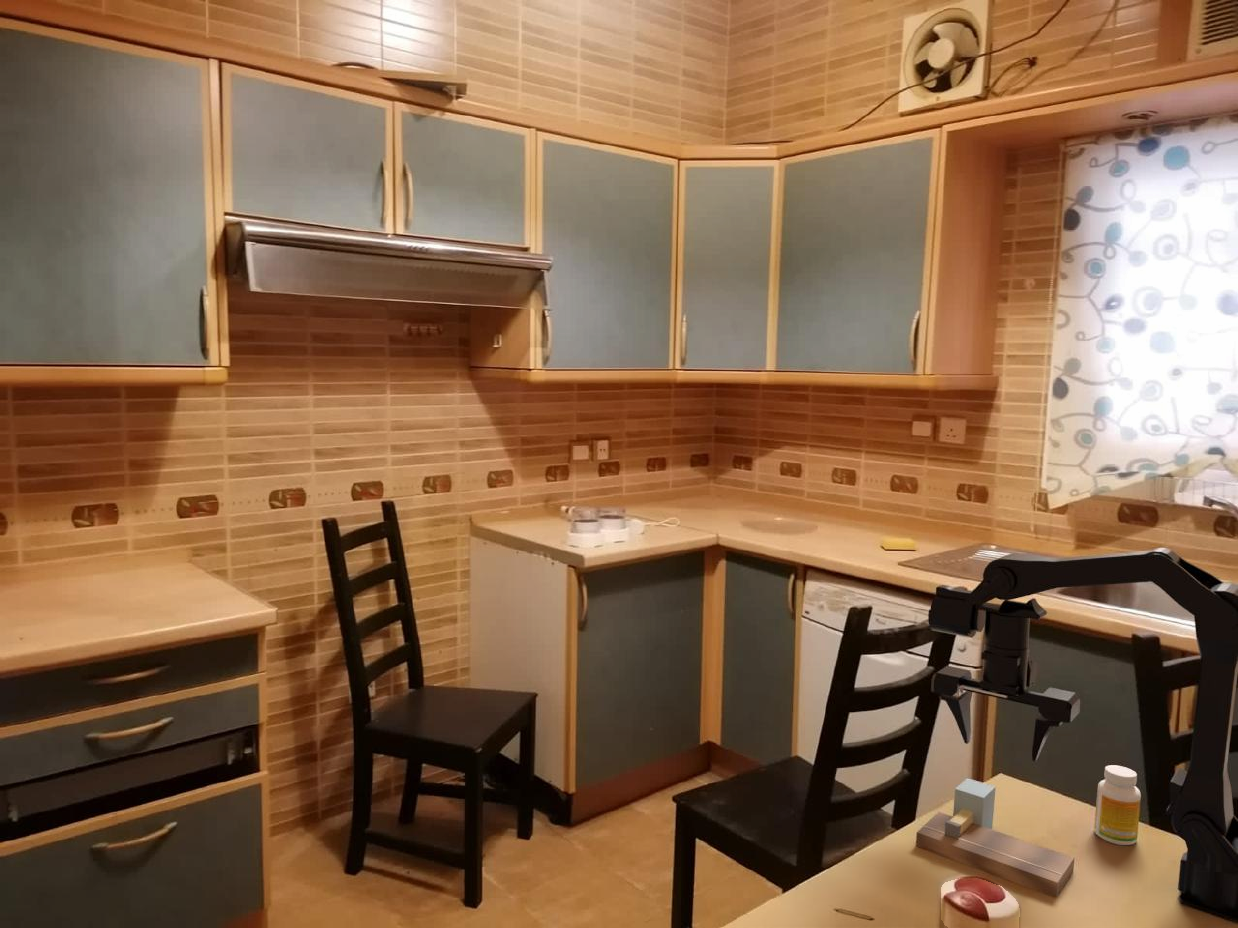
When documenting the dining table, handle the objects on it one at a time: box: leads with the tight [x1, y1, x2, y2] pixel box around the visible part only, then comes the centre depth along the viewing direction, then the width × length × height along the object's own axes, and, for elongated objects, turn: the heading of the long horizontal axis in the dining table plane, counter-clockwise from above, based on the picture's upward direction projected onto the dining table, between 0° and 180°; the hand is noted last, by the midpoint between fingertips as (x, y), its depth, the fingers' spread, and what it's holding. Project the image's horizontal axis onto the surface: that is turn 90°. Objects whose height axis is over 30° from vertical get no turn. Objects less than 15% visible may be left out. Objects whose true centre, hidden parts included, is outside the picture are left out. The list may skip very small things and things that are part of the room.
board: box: [915, 811, 1075, 898], centre depth 121 cm, size 18×8×2 cm, turn 50°
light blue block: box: [945, 778, 996, 839], centre depth 126 cm, size 4×11×6 cm, turn 140°
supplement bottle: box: [1093, 764, 1142, 846], centre depth 127 cm, size 5×5×10 cm
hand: (1000, 751), depth 128 cm, fingers open, 9 cm apart
